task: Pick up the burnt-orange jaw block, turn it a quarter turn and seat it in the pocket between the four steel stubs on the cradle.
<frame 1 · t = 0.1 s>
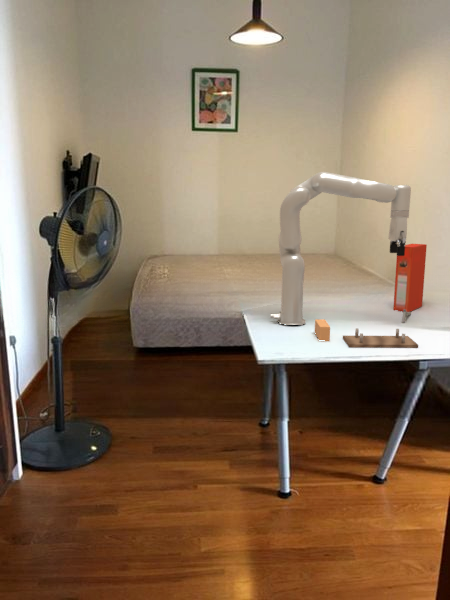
hand: (396, 254, 219), 31 cm above the table, tool pointing down, fingers open, 9 cm apart
caliper: (406, 319, 235), on the table
cradle: (379, 343, 197), on the table
file binder: (407, 308, 255), on the table
jaw block: (321, 337, 205), on the table
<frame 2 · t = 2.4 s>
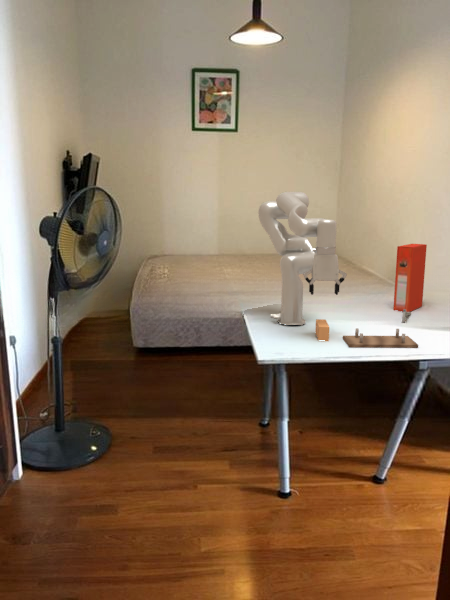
hand: (324, 294, 201), 18 cm above the table, tool pointing down, fingers open, 9 cm apart
nothing on the table moved.
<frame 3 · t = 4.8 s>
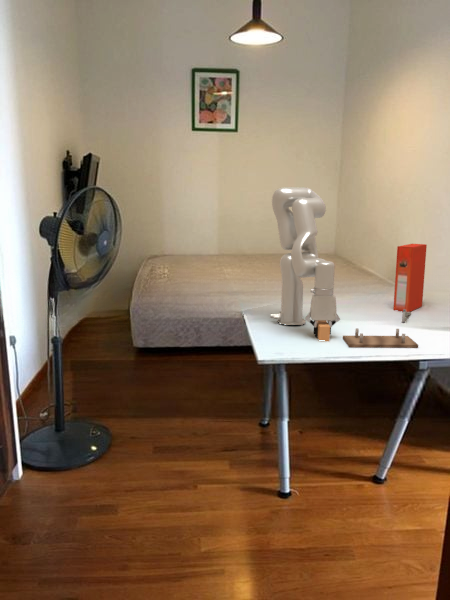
hand: (322, 335, 205), 1 cm above the table, tool pointing down, fingers closed on jaw block, 4 cm apart
jaw block: (321, 337, 205), on the table, touching gripper
everything else where it was.
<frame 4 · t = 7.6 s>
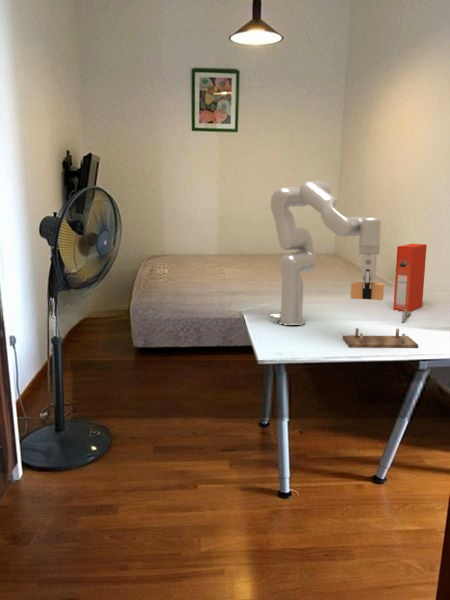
hand: (367, 297, 195), 18 cm above the table, tool pointing down, fingers closed on jaw block, 4 cm apart
jaw block: (366, 298, 195), point 17 cm above the table, touching gripper
everything else where it was.
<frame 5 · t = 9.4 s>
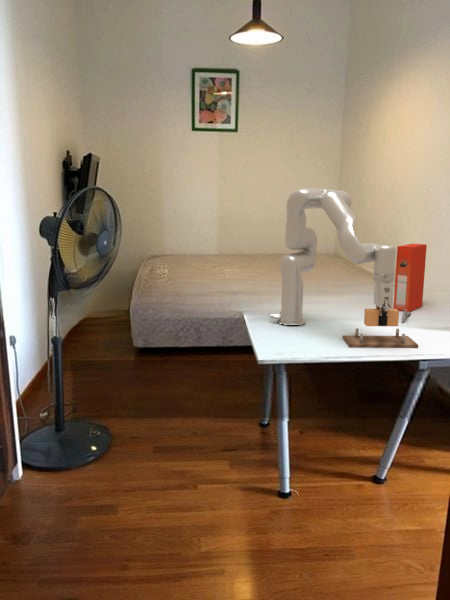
hand: (380, 323, 195), 8 cm above the table, tool pointing down, fingers closed on jaw block, 4 cm apart
jaw block: (380, 324, 195), point 7 cm above the table, touching gripper
everything else where it was.
when the fingers open (3 cm above the table, at t = 10.7 s): jaw block stays where it is, resting on cradle.
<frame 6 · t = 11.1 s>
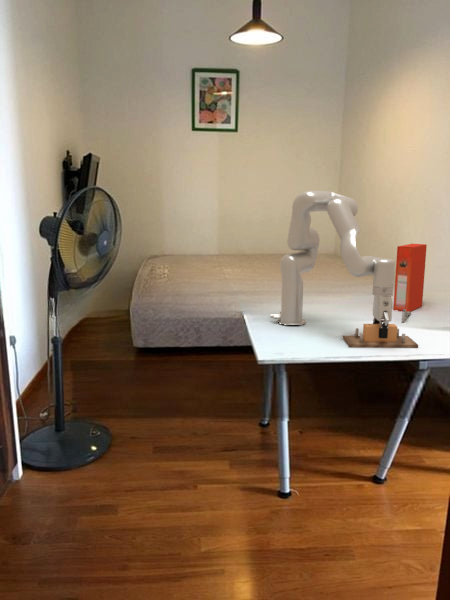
hand: (379, 334, 196), 3 cm above the table, tool pointing down, fingers open, 8 cm apart
jaw block: (379, 340, 196), point 1 cm above the table, touching cradle
everything else where it was.
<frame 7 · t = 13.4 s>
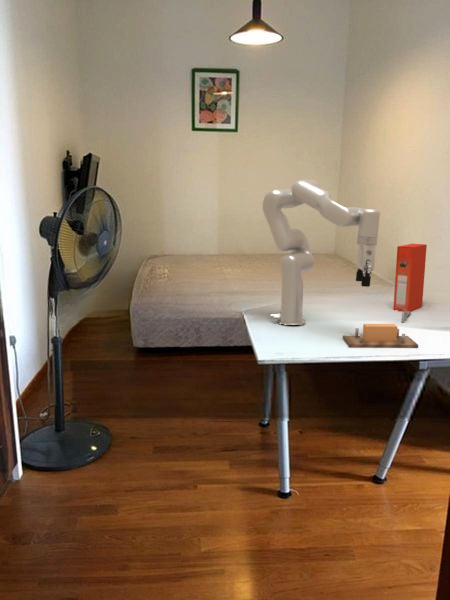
hand: (362, 283, 200), 22 cm above the table, tool pointing down, fingers open, 9 cm apart
nothing on the table moved.
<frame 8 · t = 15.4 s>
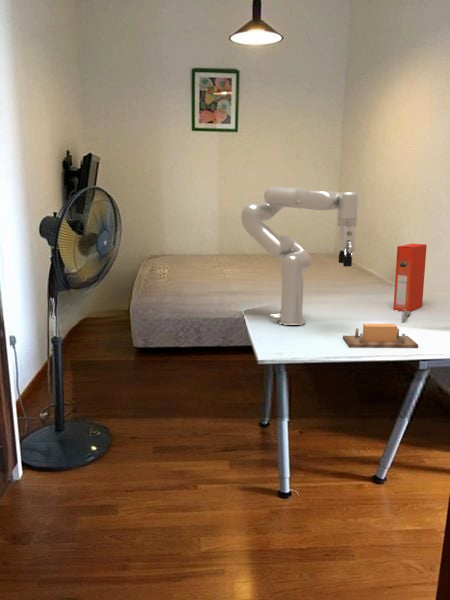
hand: (344, 264, 208), 28 cm above the table, tool pointing down, fingers open, 9 cm apart
nothing on the table moved.
at the end: jaw block 0.1 cm off-centre on the cradle, point 1.2 cm above the cradle's base; jaw block tilted 0°; the gripper is holding nothing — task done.
